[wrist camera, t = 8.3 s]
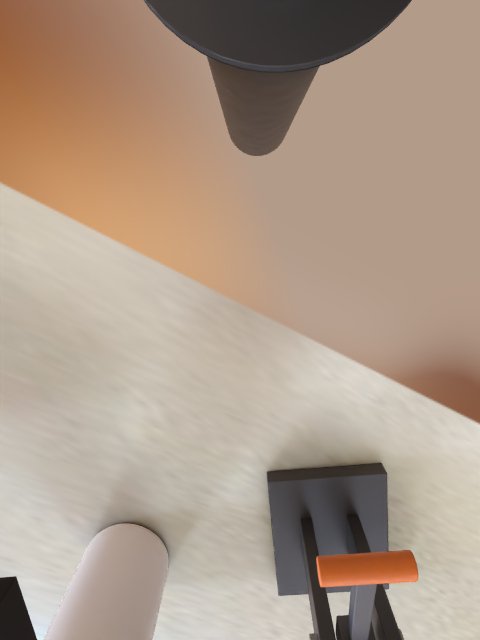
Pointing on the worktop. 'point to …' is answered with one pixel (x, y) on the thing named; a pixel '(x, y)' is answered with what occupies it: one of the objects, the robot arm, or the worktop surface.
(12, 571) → the worktop surface
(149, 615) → the milk bottle
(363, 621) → the switch lever
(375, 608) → the switch base
